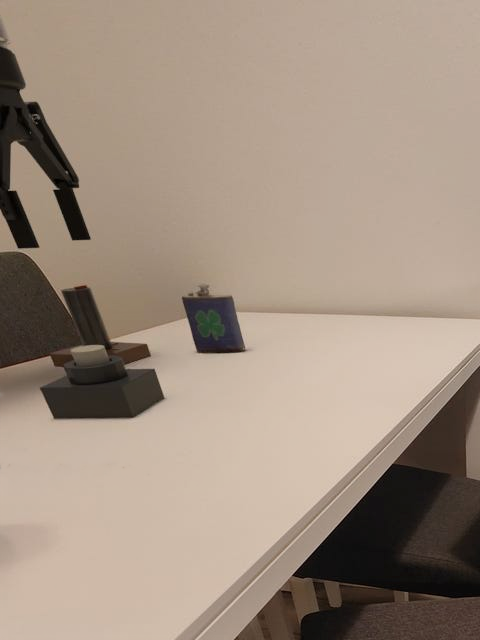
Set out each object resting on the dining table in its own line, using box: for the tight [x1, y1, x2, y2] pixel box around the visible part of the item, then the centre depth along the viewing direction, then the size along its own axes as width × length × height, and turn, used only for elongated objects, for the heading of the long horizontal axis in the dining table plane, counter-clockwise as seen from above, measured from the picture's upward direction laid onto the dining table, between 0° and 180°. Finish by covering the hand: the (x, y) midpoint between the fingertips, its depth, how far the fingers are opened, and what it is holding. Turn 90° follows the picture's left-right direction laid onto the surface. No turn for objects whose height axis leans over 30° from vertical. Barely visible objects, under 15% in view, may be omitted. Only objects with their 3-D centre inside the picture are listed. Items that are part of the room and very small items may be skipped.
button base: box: [39, 356, 165, 420], centre depth 80 cm, size 11×9×6 cm
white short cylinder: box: [71, 345, 110, 366], centre depth 77 cm, size 4×4×2 cm
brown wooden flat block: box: [49, 341, 152, 367], centre depth 104 cm, size 12×10×2 cm
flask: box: [181, 283, 246, 354], centre depth 105 cm, size 9×3×11 cm, turn 85°
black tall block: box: [60, 284, 113, 349], centre depth 100 cm, size 4×4×9 cm
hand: (57, 244), depth 89 cm, fingers open, 13 cm apart
